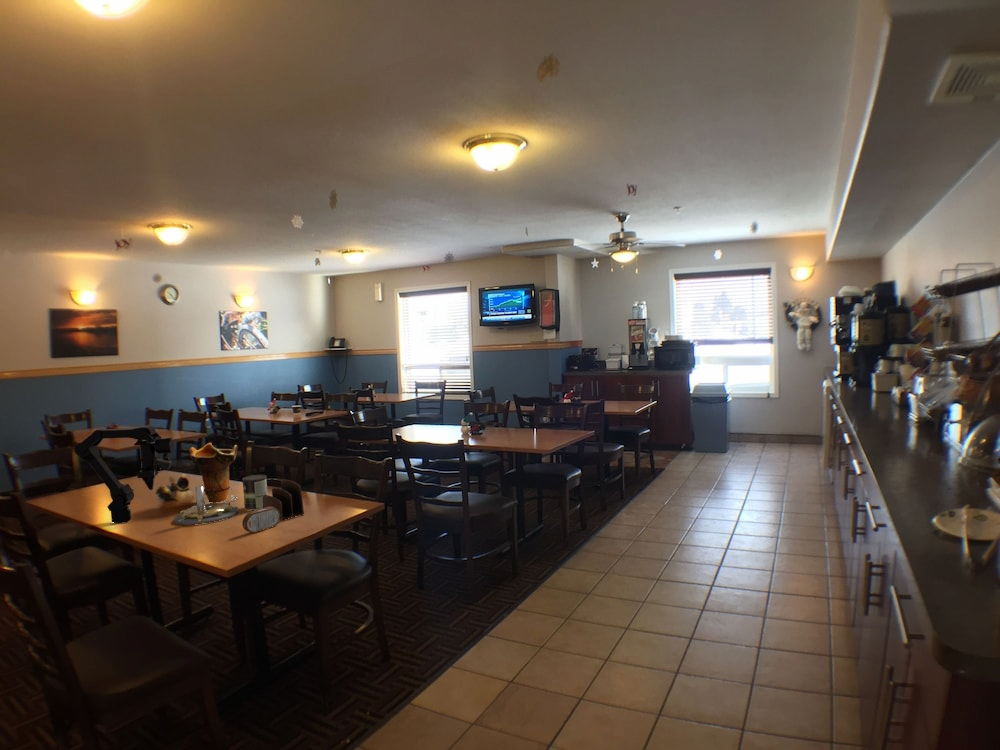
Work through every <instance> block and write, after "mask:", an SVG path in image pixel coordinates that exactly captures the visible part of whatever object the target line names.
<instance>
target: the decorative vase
mask: <svg viewBox="0 0 1000 750" xmlns="http://www.w3.org/2000/svg"><path fill="white" fill-rule="evenodd" d="M237 454H238V445H237V444H234V446H233V448H232V449H231V448H216V447H214V445H212V442H208V443H206V444H205V445H203V447H201V448H199V449H196V448H195V447H194V446H192V447H190V448H189V457H190V460H191V462H192V463H193V465H195V466H196V467H198V469H199V472H200V474H201V477H202V481H203V488H204V496H205V495H206V497H207V498H206V499H208V500H209V502H221V501H224V500H227V498H228V496H229V490H230V489H231V486H230V466H231V464H232V463H234V462H235V460H236V457H237ZM235 496H236V495H231V497H233V498H232V499H231V500H229V501H226V502H228V503H231V502H233V501H236V500H237V499H238V496H237V497H235ZM236 498H237V499H236ZM222 503H225V502H222Z"/></svg>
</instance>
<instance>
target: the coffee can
mask: <svg viewBox="0 0 1000 750" xmlns="http://www.w3.org/2000/svg"><path fill="white" fill-rule="evenodd" d="M241 480H242V490H243V492H242V493H243V505H244V510H245V511H247V510H258V509H262V508H263V499H262V498H263V495H268V485H267V483H268V482H267V481H268V480H267V475H266V474H253V475H248V476H245V477H243V478H242V479H241Z"/></svg>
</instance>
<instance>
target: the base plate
mask: <svg viewBox="0 0 1000 750" xmlns="http://www.w3.org/2000/svg"><path fill="white" fill-rule="evenodd" d="M230 506H233V509H232V510H229V511H227V512H225V513H223V515H219V516H217V515H216V516H211V517H205V518H203V519H197V518H187V519H182V515H180V513H178V514H177V515H176V516H174V523H175V524H176V523H177V524H176V525H178V524H181V525H180V526H186V525H190V526H196V525H195V524H202V523H209V522H214V521H218V522H220V521H219V520H222V519H225V520H227V519H226V518H228V519H230V518H229V517H231V518H233V517H235V516H236V515H238V513H239V507H238V506H236V505H232V504H230ZM234 515H235V516H234ZM232 516H233V517H232ZM222 521H223V520H222ZM214 523H215V522H214ZM209 524H210V523H209Z"/></svg>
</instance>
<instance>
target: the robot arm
mask: <svg viewBox="0 0 1000 750" xmlns="http://www.w3.org/2000/svg"><path fill="white" fill-rule="evenodd" d="M104 439H132V440H136V442H135V443H133V446H135V447H136V446H139V453H140V454H139V455H140V458H139V461H140V463H141V464H140V465H141V467H140V471H138V472H137V474H136V477H137V479H142V481H143V482H144V483H145V485H146V487H147V488H148V490H149V491H152V490H154V486H155V478H156V476H157V475H158V474H159V473H160V472H159V471H161V470H162V469H163V470H165V471H167V470H170V468H171V466H172V460H170V459H171V458H170V457H167V456H165V457H164V458H159V457H158V455H160V454H161V455H164V454H173V453H174V452H175V450H176V443H175V442H174V440H173V437H166V438H165V437H162V436H161V435H160V434H159V433H158V432H157V431H156V428H155V426H153V425H149V424H147V425H142V426H139V427H138V426H137V427H132V428H99V429H96V430H94V431H93V432H91V434H90V435H88V437H86V438H85V439H83V441H81V442H79V443H76V444H75V446H74V449H73V452H74V454H75V455H77V457H79V459H81V460H82V461H84V462H86V463H87V464H89V466H91V468H92V469H93V470H94V471H95V473H96V474H97V476H98V477H99V478H100V480H102V482H103V483H104V485H105V486H106V487H107V488H108V490H109V495H110V498H111V502H110V503H109V504H108V505H107V509H108V511H109V512H110V517H111V519H110V520H111V522H114V523H118V524H123V523H122V522H126V523H128V521H129V522H130V521H131V519H132V510H131V509H130V505H131V502H132V501H133V500H134V498H135V493H134V489H133V488H132V487H131V486H130V484H129V483H126V484H124V483H121V482H120V481H119V478H118V477H117V476H116V475H115V474H114V473H113V471H112V470H111V468H110V467H109V466H108V465H107V463H106V462H105V461H104V459H103V458H102V457H101V453H100V449H99V448H98V446H100V444H101V442H102V441H103V440H104ZM157 454H158V455H157ZM156 470H159V471H156Z"/></svg>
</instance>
